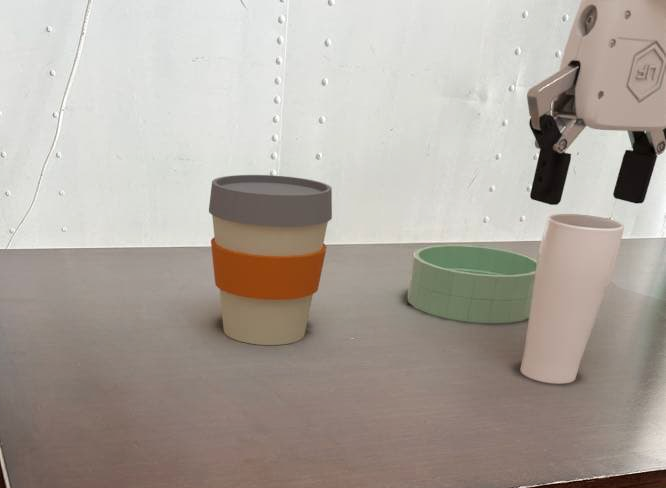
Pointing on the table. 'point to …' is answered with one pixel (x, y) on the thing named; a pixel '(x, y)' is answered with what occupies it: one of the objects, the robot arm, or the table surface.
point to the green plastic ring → (472, 283)
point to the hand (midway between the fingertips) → (586, 201)
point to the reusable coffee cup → (268, 253)
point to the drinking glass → (568, 293)
